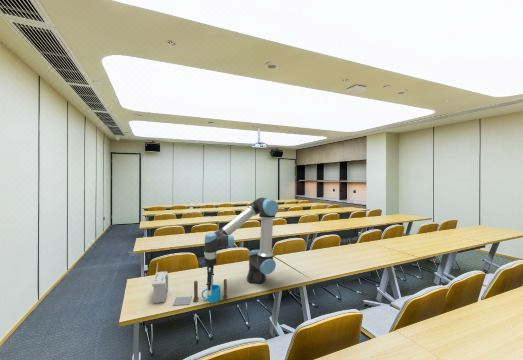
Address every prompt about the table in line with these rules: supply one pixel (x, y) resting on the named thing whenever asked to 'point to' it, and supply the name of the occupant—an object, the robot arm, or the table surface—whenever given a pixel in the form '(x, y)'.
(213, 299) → the mug
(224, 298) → the walnut standards
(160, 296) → the stereo radio cassette player
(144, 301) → the table surface
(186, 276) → the table surface
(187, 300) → the grey mat
